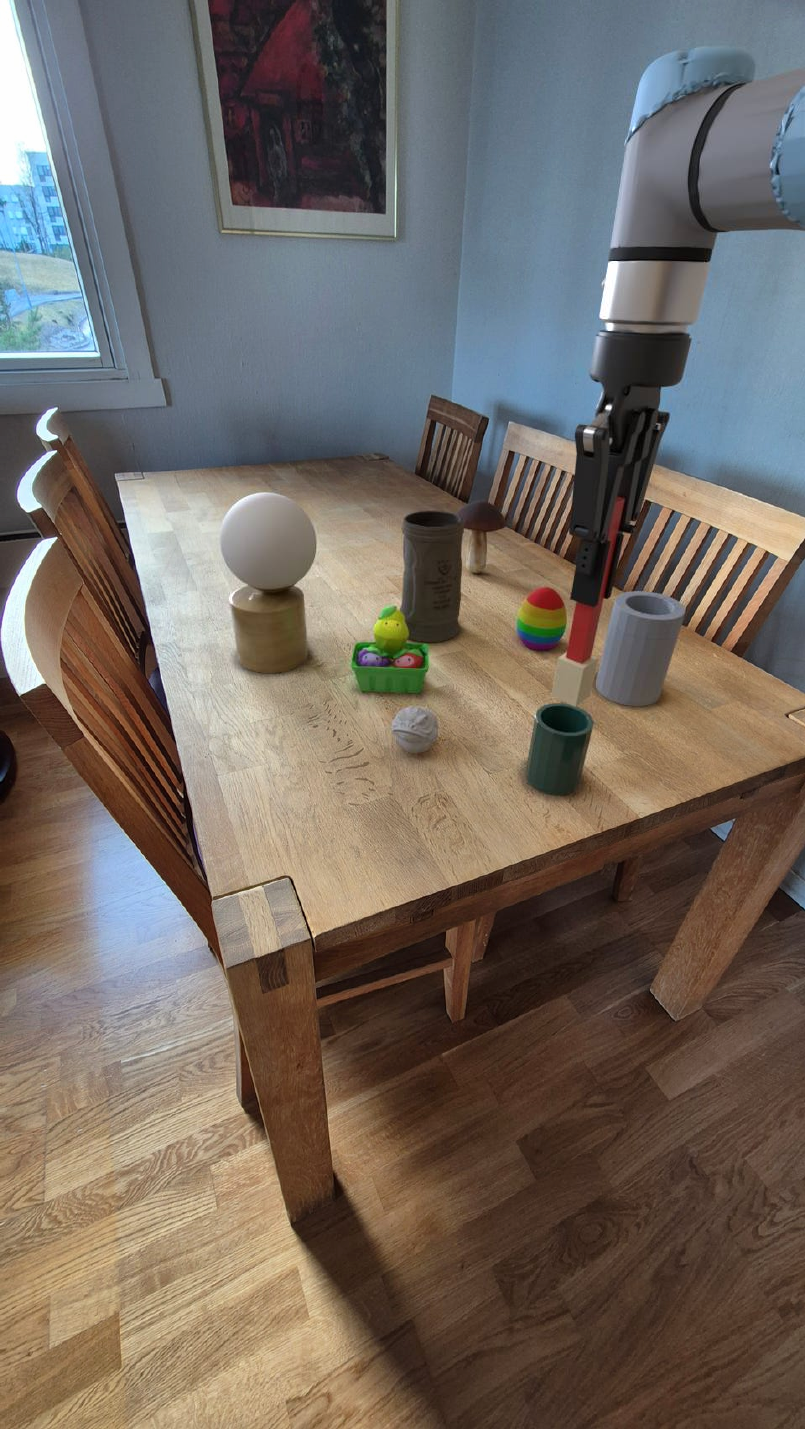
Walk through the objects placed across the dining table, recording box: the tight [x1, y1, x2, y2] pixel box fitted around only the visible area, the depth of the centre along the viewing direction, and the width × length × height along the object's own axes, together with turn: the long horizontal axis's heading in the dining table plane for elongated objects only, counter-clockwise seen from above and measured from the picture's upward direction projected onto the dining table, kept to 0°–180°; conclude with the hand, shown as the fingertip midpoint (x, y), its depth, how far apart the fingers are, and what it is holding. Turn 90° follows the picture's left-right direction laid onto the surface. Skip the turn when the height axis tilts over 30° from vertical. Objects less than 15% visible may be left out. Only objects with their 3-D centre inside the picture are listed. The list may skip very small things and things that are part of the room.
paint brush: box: [550, 497, 625, 707], centre depth 64 cm, size 3×3×22 cm
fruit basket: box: [350, 605, 430, 694], centre depth 93 cm, size 11×9×11 cm
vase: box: [595, 590, 687, 707], centre depth 91 cm, size 9×9×14 cm
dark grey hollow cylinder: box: [399, 510, 465, 643], centre depth 107 cm, size 15×11×20 cm
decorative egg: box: [516, 586, 568, 651], centre depth 104 cm, size 8×8×10 cm
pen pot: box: [525, 702, 595, 796], centre depth 75 cm, size 7×7×9 cm
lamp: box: [219, 492, 318, 674], centre depth 96 cm, size 15×14×25 cm
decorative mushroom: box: [455, 499, 507, 574], centre depth 128 cm, size 11×11×15 cm
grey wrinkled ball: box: [390, 705, 439, 754], centre depth 80 cm, size 6×7×7 cm
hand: (590, 597), depth 64 cm, fingers closed on paint brush, 2 cm apart
